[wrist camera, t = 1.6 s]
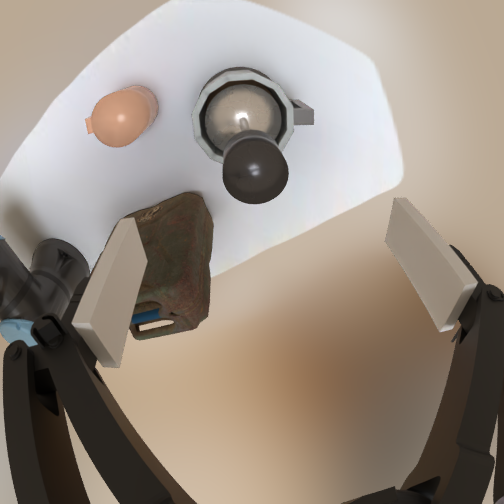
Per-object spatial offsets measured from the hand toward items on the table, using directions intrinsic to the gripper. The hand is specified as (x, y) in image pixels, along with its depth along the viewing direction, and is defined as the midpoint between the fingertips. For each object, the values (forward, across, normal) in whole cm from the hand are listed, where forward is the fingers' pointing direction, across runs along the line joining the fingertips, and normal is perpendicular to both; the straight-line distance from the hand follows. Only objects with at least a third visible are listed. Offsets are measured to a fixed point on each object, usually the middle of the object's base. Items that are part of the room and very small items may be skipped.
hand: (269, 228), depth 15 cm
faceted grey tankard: (+37, +1, 0) cm, 37 cm away
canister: (+36, -16, -20) cm, 45 cm away
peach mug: (+36, -17, +2) cm, 40 cm away
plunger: (+24, 0, 0) cm, 25 cm away
